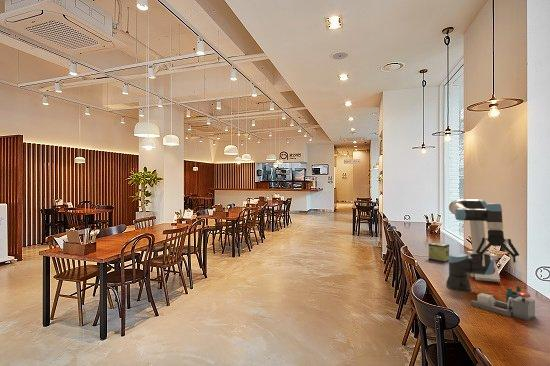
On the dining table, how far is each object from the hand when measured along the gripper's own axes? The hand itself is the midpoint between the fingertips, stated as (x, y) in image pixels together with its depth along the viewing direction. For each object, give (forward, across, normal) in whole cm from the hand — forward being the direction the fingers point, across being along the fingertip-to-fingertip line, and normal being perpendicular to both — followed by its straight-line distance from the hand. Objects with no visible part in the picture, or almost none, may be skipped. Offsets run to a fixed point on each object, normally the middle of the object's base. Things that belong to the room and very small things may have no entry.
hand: (497, 267), depth 175 cm
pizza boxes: (+12, +5, +76) cm, 77 cm away
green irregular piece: (+21, +13, +27) cm, 37 cm away
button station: (+25, +10, +5) cm, 27 cm away
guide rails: (+24, -1, +11) cm, 26 cm away
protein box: (+2, -23, +123) cm, 125 cm away
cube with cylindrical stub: (+23, -5, +14) cm, 28 cm away
